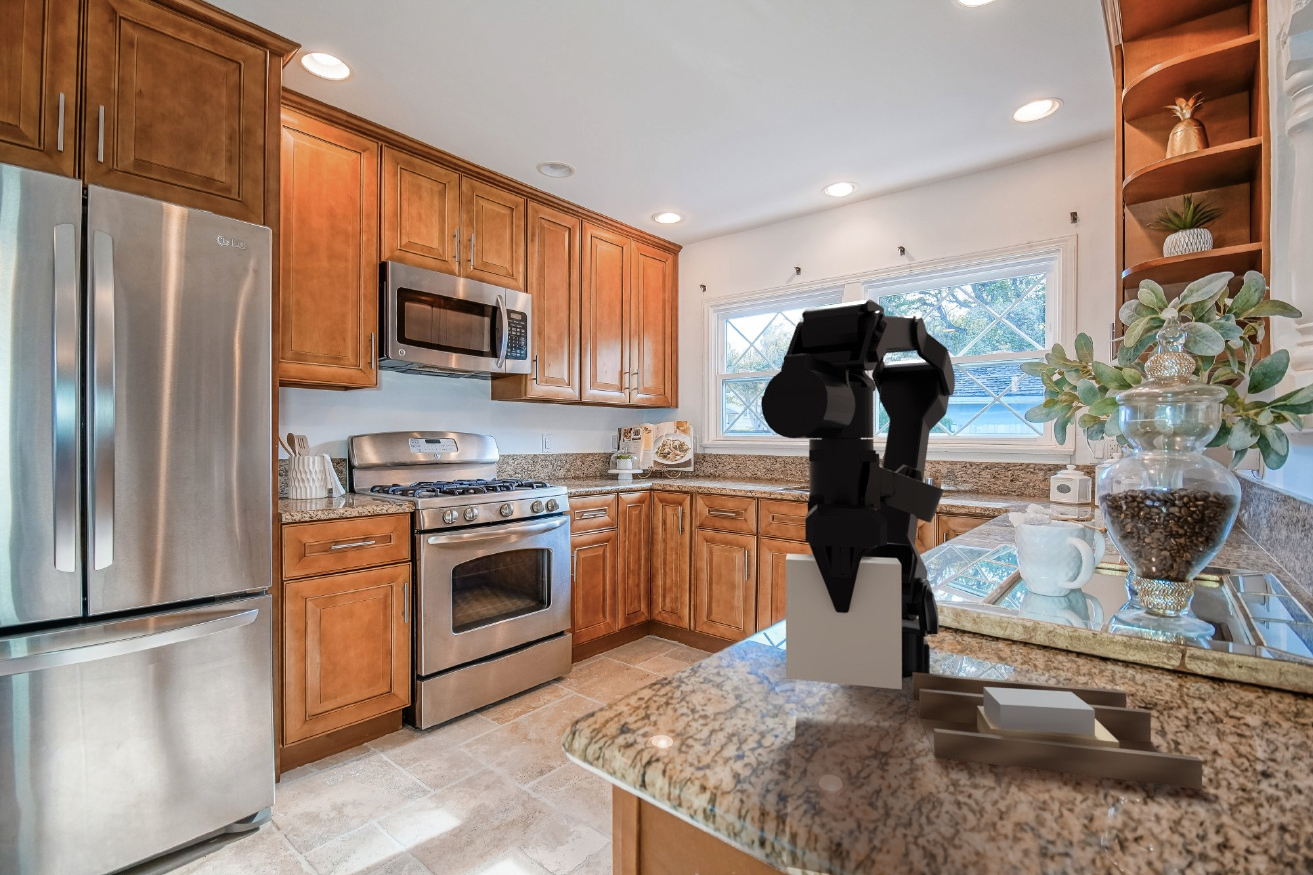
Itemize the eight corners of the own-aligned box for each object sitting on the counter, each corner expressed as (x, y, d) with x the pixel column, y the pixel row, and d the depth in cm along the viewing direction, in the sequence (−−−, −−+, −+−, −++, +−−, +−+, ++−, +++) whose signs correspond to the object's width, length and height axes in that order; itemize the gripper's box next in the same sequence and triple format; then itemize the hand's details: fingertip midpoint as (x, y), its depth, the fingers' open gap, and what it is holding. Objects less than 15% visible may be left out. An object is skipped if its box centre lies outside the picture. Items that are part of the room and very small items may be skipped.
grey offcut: (1000, 728, 50) (1000, 704, 50) (983, 709, 54) (983, 686, 54) (1094, 735, 49) (1094, 709, 49) (1071, 715, 52) (1071, 691, 52)
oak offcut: (991, 753, 50) (991, 728, 50) (977, 728, 54) (976, 705, 54) (1119, 768, 48) (1119, 742, 48) (1093, 740, 52) (1093, 717, 52)
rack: (935, 775, 49) (935, 725, 49) (910, 706, 62) (910, 666, 63) (1202, 809, 45) (1202, 754, 45) (1115, 726, 58) (1114, 684, 58)
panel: (786, 678, 57) (785, 559, 57) (787, 667, 60) (787, 553, 60) (901, 689, 54) (901, 564, 54) (897, 676, 57) (897, 558, 57)
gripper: (958, 438, 46) (958, 647, 46) (918, 439, 64) (918, 589, 64) (805, 438, 49) (805, 635, 49) (807, 439, 67) (808, 583, 67)
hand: (841, 607), depth 57 cm, fingers closed on panel, 3 cm apart
